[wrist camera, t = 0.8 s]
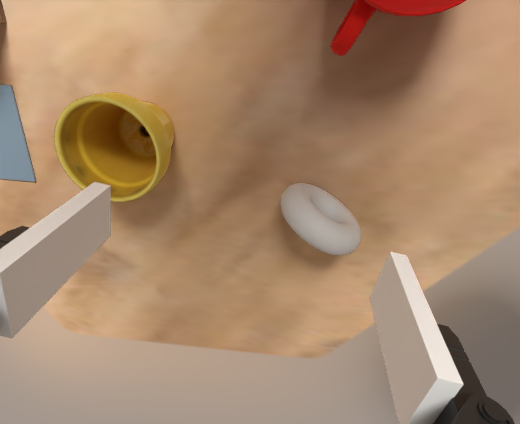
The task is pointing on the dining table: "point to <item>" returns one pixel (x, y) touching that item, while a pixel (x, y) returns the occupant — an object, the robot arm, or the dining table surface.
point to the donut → (320, 219)
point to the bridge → (2, 14)
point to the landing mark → (13, 140)
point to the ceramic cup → (397, 3)
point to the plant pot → (114, 144)
